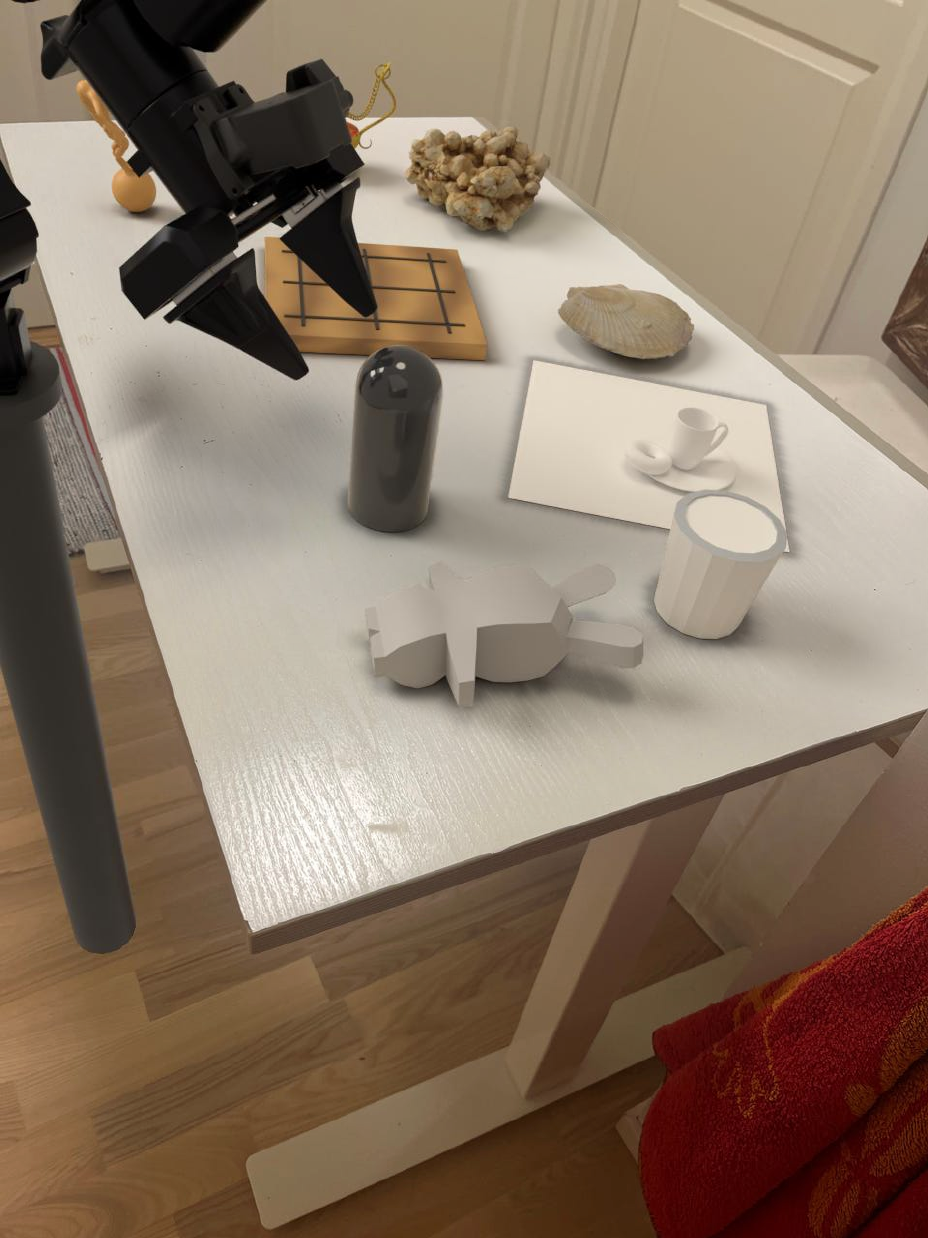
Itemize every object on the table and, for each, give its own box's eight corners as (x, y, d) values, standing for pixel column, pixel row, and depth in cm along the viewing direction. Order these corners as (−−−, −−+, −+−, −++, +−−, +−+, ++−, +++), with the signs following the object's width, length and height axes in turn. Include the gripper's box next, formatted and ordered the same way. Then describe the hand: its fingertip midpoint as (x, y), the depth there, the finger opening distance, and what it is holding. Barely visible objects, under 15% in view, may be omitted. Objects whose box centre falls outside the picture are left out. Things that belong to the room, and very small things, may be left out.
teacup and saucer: (619, 483, 73) (632, 436, 70) (621, 425, 78) (634, 379, 76) (737, 506, 72) (756, 459, 70) (731, 446, 78) (748, 401, 75)
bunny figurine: (357, 554, 57) (608, 525, 59) (362, 617, 61) (598, 587, 63) (379, 676, 50) (661, 638, 53) (383, 739, 54) (647, 701, 56)
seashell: (665, 388, 84) (675, 357, 82) (536, 345, 86) (542, 314, 84) (696, 334, 92) (706, 304, 90) (577, 296, 94) (584, 266, 92)
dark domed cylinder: (349, 532, 65) (361, 372, 57) (345, 482, 68) (354, 325, 60) (432, 532, 66) (454, 376, 58) (422, 483, 69) (442, 330, 61)
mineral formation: (390, 193, 106) (501, 168, 113) (462, 265, 100) (573, 235, 107) (400, 119, 99) (516, 97, 106) (477, 192, 94) (595, 165, 101)
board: (265, 350, 80) (265, 332, 78) (264, 251, 92) (264, 234, 91) (485, 360, 83) (488, 343, 82) (455, 264, 96) (457, 247, 95)
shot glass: (671, 652, 60) (705, 565, 56) (627, 577, 65) (655, 491, 60) (768, 640, 62) (810, 555, 58) (719, 568, 67) (754, 484, 62)
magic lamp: (221, 156, 107) (217, 42, 100) (383, 159, 113) (390, 51, 105) (232, 181, 103) (228, 64, 95) (399, 183, 108) (408, 72, 101)
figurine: (166, 227, 93) (155, 88, 85) (99, 230, 91) (81, 88, 83) (148, 191, 98) (137, 57, 90) (84, 193, 96) (67, 56, 88)
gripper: (148, 47, 43) (362, 349, 49) (341, -19, 56) (493, 225, 62) (27, 184, 50) (227, 436, 56) (225, 96, 63) (371, 307, 69)
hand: (339, 343), depth 60 cm, fingers open, 9 cm apart
